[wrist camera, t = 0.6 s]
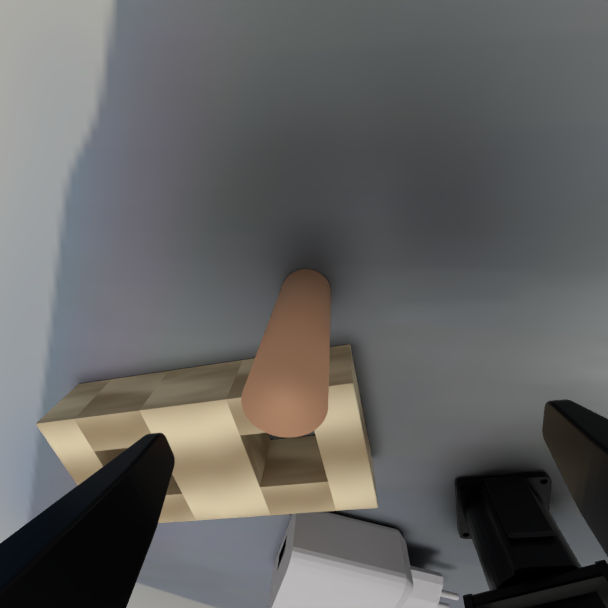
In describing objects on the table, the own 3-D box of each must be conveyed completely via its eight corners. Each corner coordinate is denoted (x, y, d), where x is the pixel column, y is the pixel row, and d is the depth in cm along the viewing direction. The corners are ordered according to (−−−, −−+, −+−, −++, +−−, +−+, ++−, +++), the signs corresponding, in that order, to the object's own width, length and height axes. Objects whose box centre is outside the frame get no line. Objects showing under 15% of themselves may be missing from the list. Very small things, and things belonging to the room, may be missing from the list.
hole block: (372, 457, 26) (378, 507, 22) (134, 479, 29) (105, 526, 26) (350, 344, 22) (353, 383, 19) (78, 384, 25) (35, 423, 22)
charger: (425, 596, 33) (274, 560, 33) (467, 540, 30) (297, 497, 29) (438, 663, 29) (264, 622, 29) (490, 607, 25) (290, 559, 25)
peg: (335, 310, 21) (335, 433, 12) (287, 318, 22) (254, 441, 13) (325, 264, 20) (318, 362, 11) (276, 274, 21) (230, 374, 12)
